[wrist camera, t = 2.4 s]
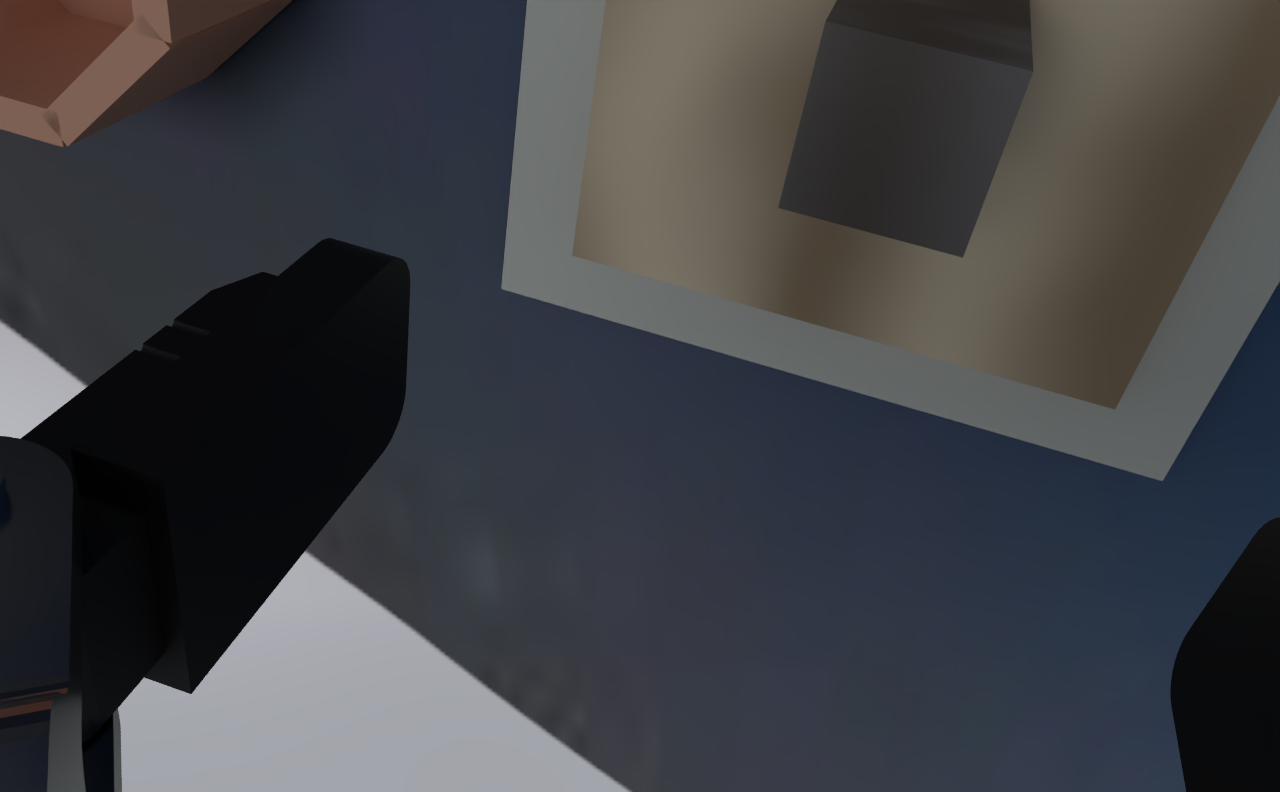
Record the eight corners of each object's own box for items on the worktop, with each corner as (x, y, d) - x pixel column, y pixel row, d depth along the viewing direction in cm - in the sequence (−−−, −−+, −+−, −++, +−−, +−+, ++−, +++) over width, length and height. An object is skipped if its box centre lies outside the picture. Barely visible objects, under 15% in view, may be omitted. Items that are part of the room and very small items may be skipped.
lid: (1446, -260, 17) (1608, -236, 12) (1112, 390, 25) (1135, 554, 20) (671, -406, 19) (562, -433, 14) (582, 241, 27) (491, 360, 22)
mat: (1657, -389, 16) (1672, -390, 16) (1160, 469, 26) (1162, 481, 26) (588, -569, 18) (579, -575, 18) (508, 280, 28) (501, 288, 28)
